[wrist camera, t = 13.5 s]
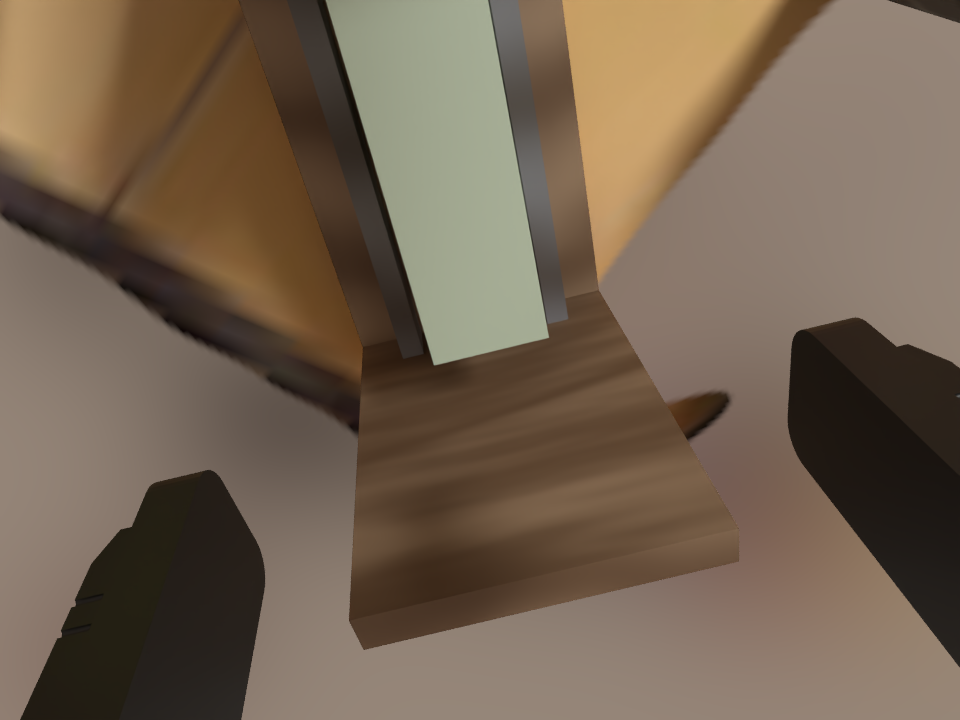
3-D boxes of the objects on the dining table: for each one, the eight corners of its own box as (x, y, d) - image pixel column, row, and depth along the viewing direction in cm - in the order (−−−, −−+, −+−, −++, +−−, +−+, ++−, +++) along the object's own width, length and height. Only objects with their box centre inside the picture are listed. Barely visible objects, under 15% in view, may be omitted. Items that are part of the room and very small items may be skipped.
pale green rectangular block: (338, -46, 25) (316, -33, 17) (444, -73, 25) (475, -73, 17) (421, 249, 32) (434, 365, 23) (505, 228, 32) (548, 337, 23)
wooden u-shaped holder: (166, -227, 23) (-212, -493, 8) (513, -315, 23) (739, -740, 8) (372, 356, 36) (363, 649, 21) (594, 302, 36) (738, 561, 21)
